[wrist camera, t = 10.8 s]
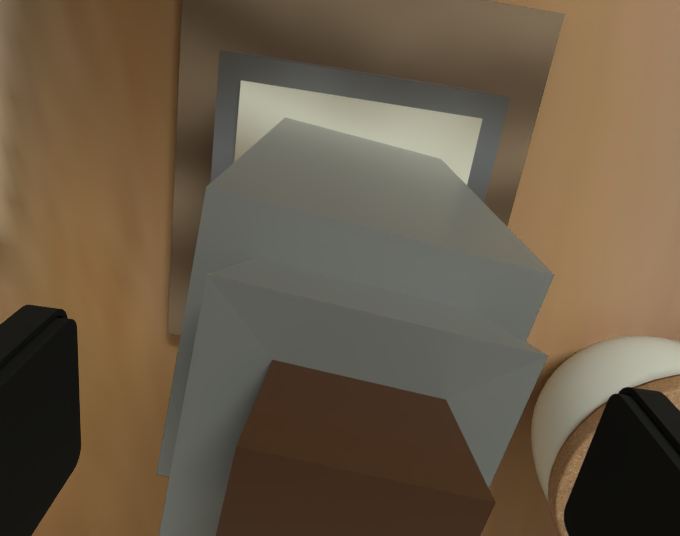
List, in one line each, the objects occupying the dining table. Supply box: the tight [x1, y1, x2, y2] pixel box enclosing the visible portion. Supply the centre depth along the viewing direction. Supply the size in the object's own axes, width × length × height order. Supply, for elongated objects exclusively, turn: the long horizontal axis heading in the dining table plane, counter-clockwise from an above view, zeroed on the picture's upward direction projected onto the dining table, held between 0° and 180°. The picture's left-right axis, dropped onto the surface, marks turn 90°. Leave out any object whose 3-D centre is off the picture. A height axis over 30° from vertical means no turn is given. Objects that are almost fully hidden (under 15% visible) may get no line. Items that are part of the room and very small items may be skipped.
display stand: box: [168, 0, 564, 335], centre depth 27 cm, size 20×18×7 cm
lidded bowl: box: [531, 336, 680, 536], centre depth 30 cm, size 13×13×11 cm
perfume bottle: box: [157, 117, 554, 536], centre depth 16 cm, size 7×7×18 cm
